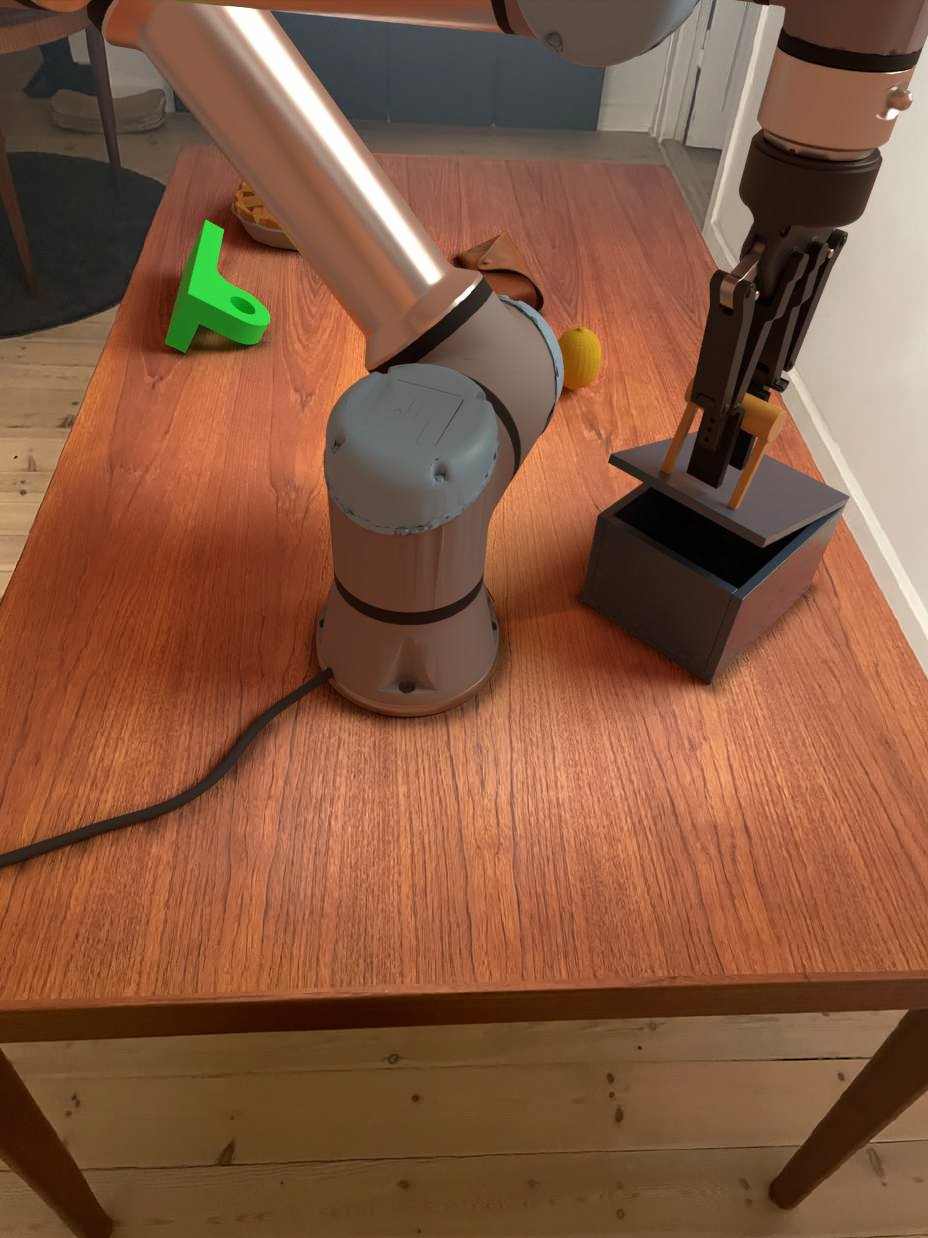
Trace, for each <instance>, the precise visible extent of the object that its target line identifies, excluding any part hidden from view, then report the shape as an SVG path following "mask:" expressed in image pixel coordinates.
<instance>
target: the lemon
mask: <svg viewBox="0 0 928 1238" xmlns="http://www.w3.org/2000/svg"><path fill="white" fill-rule="evenodd" d="M557 341H558V344H559V347H560V350H561V353H562V358H563V366H564V378H563V386H562V387H565V388H567V389H568V390H569V391H571V392H574V391H576V390H579V389H580V390H581V389H583V388H585V387H587V386H589V385H590V384H591V383H592V382H594V380H595V379H596V378H597V376H598V375H599V372H600V368H601V365H602V360H603V359H602V356H603V355H602V345H601V341H600V339H599V338H598V336H597V334H596V333H594V332H593V331H592V330H591V329H589V328H587V327H585V326H584V325H578V326H574V327H571V328H568V329H567V330H566V331H565V332H563V333H562V334H561V335H560V336H559V338H558V339H557Z"/></svg>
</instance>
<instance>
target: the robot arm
mask: <svg viewBox="0 0 928 1238" xmlns="http://www.w3.org/2000/svg"><path fill="white" fill-rule="evenodd" d="M735 1H738V2H746V3H751V4H756V5H761V6H766V7H769V6H776V7H783V8H784V16H783V21H782V26H781V27H780V30H779V34H778V37H777V38H778V39H777V42H776V46H775V50H774V53H773V57H772V60H771V64H770V68H769V71H768V75H767V78H766V82H765V86H764V88H763V89H764V90H763V93H762V96H761V100H760V103H759V108H758V110H757V115H756V121H757V122H758V124H759V126H760V127H761V129H759V130H758V131H757V132H756V133H754V135H753V136H752V137H751V140H750V144H749V148H748V152H747V156H746V159H745V163H744V167H743V170H742V173H741V179H740V183H739V186H738V195H739V198H740V200H741V202H742V203H743V205H744V206H745V207H747V208H748V210H749V211H750V213H751V216H752V218H753V222H752V224H751V226H750V229H749V231H748V233H747V235H746V237H745V239H744V240H743V243H742V246H741V249H740V253H739V258H738V261H739V262H738V264H737V265H736V266H735V267H734V268H733V269H732V271H730V272H728V271H726V270H723V269H720V268H719V269H716V270H715V271H714V272H713V274H712V276H711V277H710V281H709V288H708V289H709V308H708V313H707V316H706V320H705V321H706V322H705V326H704V331H703V336H702V341H701V344H700V345H701V346H700V350H699V354H698V360H697V364H696V369H695V374H694V376H695V378H694V383H693V387H692V392H691V397H690V401H691V402H692V403H694V404H696V405H698V406H700V407H702V408H704V411H703V412H702V416H701V420H700V422H699V426H698V429H697V431H698V433H697V437H696V440H695V444H694V447H693V451H692V454H691V458H690V461H689V465H688V468H687V472H686V473H688V474H689V475H691V476H693V477H695V478H697V479H699V480H700V481H702V482H704V483H706V484H708V485H710V486H711V487H713V488H715V489H717V488H718V487H720V486H721V485H722V483H723V480H724V476H725V473H726V470H727V467H728V464H729V465H730V466H732V467H734V468H736V469H738V470H740V471H741V470H743V469H744V468H745V466H746V464H747V462H748V460H749V457H750V454H751V451H752V448H754V446H755V443H756V439H757V437H756V436H754V435H752V434H750V433H748V432H746V431H744V430H742V429H740V427H741V424H742V420H743V417H744V414H745V411H746V410H745V409H743V408H741V404H742V401H743V399H744V396H745V394H746V392H747V393H749V394H751V395H753V396H755V397H757V398H759V399H761V400H764V401H766V402H768V403H769V400H770V398H771V394H772V392H770V389H772V390H773V391H776V392H778V393H780V394H783V393H784V392H785V391H786V390H787V388H788V386H789V385H790V380H788V379H786V378H784V377H782V375H783V374H782V373H783V372H786V373H789V372H790V371H792V370H793V368H794V366H795V364H796V361H797V359H798V356H799V354H800V351H801V349H802V346H803V343H804V341H805V339H806V336H807V334H808V332H809V329H810V326H811V323H812V321H813V318H814V315H815V313H816V311H817V308H818V306H819V304H820V301H821V297H822V295H823V293H824V291H825V288H826V285H827V282H828V280H829V277H830V275H831V272H832V271H833V267H834V266H835V264H836V263H837V260H838V258H839V256H840V254H841V252H842V250H843V249H844V247H845V246H846V243H847V241H848V237H849V232H848V231H845V230H843V229H840V228H843V227H846V226H849V225H852V224H854V223H855V222H856V221H858V220H860V218H861V217H862V216H863V215H864V212H865V211H866V208H867V205H868V203H869V200H870V198H871V195H872V192H873V188H874V186H875V183H876V180H877V178H878V175H879V172H880V170H881V167H882V163H883V161H884V160H883V156H882V154H881V153H882V152H881V151H880V149H879V148H880V147H882V146H884V145H886V143H888V142H889V141H890V139H891V136H892V133H893V130H894V128H895V125H896V122H897V120H898V117H899V114H900V112H905V111H907V110H908V109H909V108H910V107H911V106H912V103H913V102H914V93H913V92H911V91H910V90H908V89H909V86H910V83H911V81H912V79H913V76H914V74H915V70H916V67H917V65H918V62H919V60H920V57H921V54H922V52H923V49H924V47H925V44H926V41H927V38H928V0H735ZM700 2H701V0H0V8H9V9H20V10H21V9H23V10H36V11H44V12H52V13H54V12H55V13H69V12H70V13H71V12H75V11H78V10H81V11H82V12H83V13H84V15H85V16H86V18H87V19H88V20H89V21H90V22H91V23H92V25H93V26H94V27H95V29H96V30H97V31H98V32H99V34H100V35H101V36H102V37H103V39H104V40H105V41H106V42H107V43H108V44H109V45H111V46H112V47H119V48H124V49H131V50H137V51H139V52H141V53H142V54H144V55H145V56H146V57H147V59H148V60H149V61H150V62H151V64H152V65H153V67H154V68H155V69H156V70H157V72H158V73H159V74H160V76H161V77H162V78H163V79H164V80H165V82H166V83H167V84H168V86H169V87H170V88H171V90H172V91H173V92H174V93H175V95H176V96H177V97H178V98H179V100H180V101H181V102H182V104H183V105H184V106H185V107H186V109H187V111H188V112H189V113H190V114H191V115H192V117H193V118H194V119H195V120H196V122H197V123H198V124H199V126H200V127H201V128H202V129H203V130H204V132H205V133H206V134H207V136H208V137H209V138H210V139H211V141H212V142H213V144H214V145H215V146H216V148H217V149H218V150H219V151H220V152H221V154H222V155H223V156H224V158H225V159H226V160H227V161H228V163H229V164H230V165H231V167H232V168H233V169H234V170H235V172H236V173H237V174H238V176H239V177H240V178H241V180H242V182H243V181H244V182H245V183H246V184H247V186H248V187H249V188H250V189H251V191H252V192H253V193H254V195H255V196H256V197H257V198H258V200H259V201H260V202H261V204H262V205H263V206H264V207H265V209H266V210H267V211H268V213H269V214H270V215H271V216H272V218H273V219H274V220H275V222H276V223H277V224H278V225H279V227H280V228H281V229H282V231H283V232H284V233H285V234H286V236H287V237H288V238H289V240H290V241H291V242H292V243H293V245H294V246H295V247H296V249H297V250H296V251H298V253H299V254H300V255H301V257H302V258H303V259H304V260H305V262H306V263H307V264H308V265H309V267H310V268H311V269H312V271H313V272H314V273H315V275H316V276H317V277H318V278H319V280H320V281H321V282H322V284H324V286H325V287H326V289H327V290H328V291H329V293H330V294H331V295H332V296H333V298H334V299H335V300H336V301H337V302H338V304H339V305H340V307H341V308H342V309H343V310H344V311H345V313H346V315H348V317H349V318H350V319H351V320H352V322H353V323H354V324H355V326H356V327H357V328H358V329H359V331H360V332H361V333H362V335H363V336H364V342H365V349H364V363H363V367H364V369H365V370H366V371H367V373H368V374H367V375H364V376H363V377H361V378H360V379H358V380H357V381H355V382H354V383H353V384H351V385H350V386H349V387H348V388H346V390H345V391H344V392H342V394H341V395H340V396H339V398H338V399H337V400H336V402H335V404H334V405H333V407H332V409H331V411H330V413H329V415H328V419H327V423H326V427H325V447H324V449H323V450H324V451H323V455H322V456H323V461H322V463H323V465H322V466H323V477H324V481H325V485H326V493H327V505H328V506H327V507H328V518H329V519H328V520H329V531H330V542H331V554H332V568H333V579H332V581H331V584H330V587H329V589H328V593H327V595H326V598H325V603H324V604H323V606H322V608H321V611H320V613H319V615H318V616H319V617H318V621H317V623H316V624H317V625H316V632H315V635H316V636H315V644H316V645H315V646H316V656H317V660H318V664H319V667H320V670H321V672H319V673H318V674H316V675H314V676H313V677H312V678H311V679H309V680H308V681H306V682H305V683H303V684H302V685H300V686H299V687H297V688H296V689H294V690H293V691H291V692H290V693H288V694H287V695H286V696H284V697H282V698H281V699H279V700H278V701H276V702H275V703H274V704H273V705H271V706H270V707H268V709H266V710H264V712H263V713H262V714H261V715H260V716H258V717H257V718H256V720H254V722H252V723H251V725H249V727H248V728H247V729H246V730H245V731H244V733H243V734H242V735H241V736H240V738H239V739H238V740H237V742H236V743H235V744H234V746H233V747H232V748H231V750H230V751H229V752H228V754H227V755H226V756H225V757H223V759H222V760H221V762H220V763H219V764H218V765H217V766H216V768H214V769H213V770H212V771H211V772H210V773H209V774H208V775H206V776H205V777H204V778H203V779H201V780H200V781H198V783H195V784H194V785H193V786H192V787H190V788H188V789H185V791H183V792H181V793H180V794H179V793H178V794H177V795H176V796H173V797H171V798H169V799H167V800H165V801H162V802H159V803H157V804H154V805H151V806H149V807H145V808H142V809H139V810H136V811H132V812H128V813H125V814H121V815H117V816H114V817H111V818H106V819H103V820H100V821H97V822H94V823H91V824H88V825H84V826H82V827H79V828H76V829H72V830H70V831H67V832H64V833H61V834H59V835H56V836H53V837H49V838H47V839H44V840H41V841H38V842H35V843H32V844H29V845H25V846H22V847H20V848H16V849H13V850H11V851H8V852H7V851H6V852H4V853H0V868H3V867H6V866H9V865H12V864H15V863H18V862H21V861H24V860H27V859H30V858H33V857H36V856H39V855H42V854H45V853H48V852H50V851H54V850H57V849H59V848H62V847H66V846H69V845H72V844H75V843H77V842H80V841H83V840H85V839H88V838H91V837H94V836H97V835H101V834H104V833H107V832H110V831H114V830H117V829H120V828H124V827H128V826H131V825H135V824H138V823H142V822H146V821H148V820H151V819H154V818H157V817H160V816H162V815H166V814H167V813H170V812H172V811H175V810H176V809H178V808H181V807H182V806H185V805H186V804H188V803H190V802H191V801H193V800H195V799H197V798H198V797H200V796H202V794H204V793H205V792H207V791H208V790H209V789H211V788H212V787H213V786H214V785H216V784H217V783H218V782H219V781H220V780H221V779H223V777H224V776H225V775H226V774H227V773H228V772H229V771H230V769H232V768H233V766H235V763H236V762H237V761H238V760H239V759H240V756H242V754H243V753H244V752H245V750H247V748H248V746H249V745H250V744H251V742H252V741H253V740H254V738H256V737H257V735H258V734H259V733H260V732H261V731H262V730H263V729H264V728H265V727H266V725H268V724H269V723H270V722H271V721H272V720H273V719H274V718H276V717H277V716H278V715H279V714H281V713H282V712H283V711H284V710H286V709H288V708H289V707H290V706H292V705H293V704H295V703H296V702H298V701H299V700H301V699H302V698H304V697H306V696H307V695H308V694H310V693H311V692H312V691H314V690H316V689H317V688H318V687H320V686H322V685H323V684H325V683H326V682H328V683H329V684H330V686H331V687H332V688H333V689H334V690H335V691H336V692H337V693H338V694H339V695H341V696H342V697H343V698H345V699H346V700H347V701H349V702H350V703H352V704H353V705H356V706H358V707H360V708H362V709H365V710H368V711H371V712H373V713H378V714H381V715H385V716H393V717H405V718H406V717H422V716H429V715H435V714H438V713H442V712H446V711H448V710H451V709H453V708H457V707H458V706H460V705H462V704H464V703H465V702H467V701H469V700H470V699H471V698H473V697H474V696H476V695H477V694H478V693H479V692H480V691H481V690H482V689H483V688H484V687H485V686H486V684H487V683H488V682H489V680H490V679H491V677H492V676H493V673H494V672H495V669H496V667H497V664H498V660H499V652H500V644H501V643H500V642H501V637H500V626H499V621H498V618H497V614H496V613H495V612H496V611H495V609H494V607H493V604H494V606H495V607H496V609H497V604H496V602H495V599H494V597H493V596H492V593H491V592H490V590H489V589H488V586H487V585H486V583H485V580H484V576H485V575H484V574H485V566H486V557H487V556H486V555H487V545H488V537H489V528H490V523H491V519H492V517H493V515H494V512H495V510H496V508H497V506H498V505H499V503H500V501H501V499H502V498H503V496H504V495H505V493H506V491H507V489H508V488H509V486H510V484H511V483H512V481H513V480H514V478H515V477H516V475H517V473H518V472H519V470H520V468H521V467H522V465H523V464H524V462H525V460H526V459H527V457H528V455H530V453H531V451H532V450H533V447H534V446H535V445H536V444H537V443H536V442H537V441H538V440H539V438H540V437H541V436H542V435H543V434H544V433H546V430H547V428H548V427H549V425H550V424H551V421H552V419H553V417H554V414H555V411H556V406H557V404H558V402H559V399H560V397H561V393H562V390H563V387H564V386H563V378H564V366H563V358H562V353H561V350H560V347H559V344H558V338H557V337H556V335H555V333H554V331H553V329H552V328H551V326H550V325H549V323H548V322H547V320H545V318H543V316H542V315H541V313H539V312H537V311H535V310H534V309H533V308H532V307H530V306H529V305H527V304H526V303H524V302H522V301H513V300H511V299H510V298H509V297H508V296H505V295H496V293H495V292H494V291H493V289H492V288H491V287H490V285H489V284H488V282H487V281H486V280H485V278H484V277H483V275H482V274H481V273H480V272H479V271H474V270H468V269H464V268H461V267H456V266H454V265H453V264H452V263H450V262H449V261H448V259H447V258H446V257H445V255H444V254H443V252H442V251H441V249H440V248H439V247H438V245H437V244H436V242H435V241H434V240H433V239H432V237H431V235H430V234H429V232H427V230H426V228H425V227H424V226H423V224H422V223H421V221H420V220H419V219H418V217H417V216H416V214H415V213H414V212H413V210H412V209H411V208H410V206H409V204H408V203H407V201H406V200H405V199H404V198H403V196H402V195H401V193H400V192H399V191H398V189H397V187H395V185H394V184H393V182H392V181H391V179H390V178H389V176H388V174H386V172H385V171H384V169H383V168H382V167H381V164H379V162H378V161H377V160H376V158H375V157H374V155H373V154H372V152H371V151H370V150H369V148H368V147H367V146H366V144H365V142H364V141H363V140H362V138H361V137H360V136H359V134H358V132H357V131H356V130H355V128H354V127H353V126H352V124H351V123H350V122H349V121H348V118H346V116H345V115H344V114H343V112H342V111H341V110H342V109H341V108H339V106H338V105H337V103H336V102H335V100H334V99H333V97H332V96H331V95H330V93H329V92H328V91H327V89H326V88H325V87H324V85H323V83H322V81H320V79H319V78H318V77H317V75H316V74H315V73H314V71H313V70H312V68H311V67H310V66H309V64H308V63H307V61H306V59H305V58H304V57H303V56H302V54H301V53H300V51H299V50H298V48H297V47H296V46H295V44H294V43H293V41H292V40H291V38H290V37H289V36H288V35H287V33H286V32H285V30H284V29H283V27H282V26H281V25H280V23H279V22H278V21H277V18H275V16H274V15H273V13H272V12H279V13H280V12H281V13H289V14H290V13H292V14H299V15H300V14H301V15H312V16H322V17H331V18H341V19H351V20H352V19H353V20H362V21H363V20H364V21H373V22H383V23H393V24H404V25H414V26H423V27H434V28H443V29H444V28H445V29H453V30H464V31H465V30H466V31H474V32H485V33H486V32H487V33H494V34H504V35H505V34H506V35H512V36H513V35H514V36H521V37H527V38H531V39H532V38H533V39H537V40H538V41H539V42H541V43H542V44H543V45H544V46H545V47H546V48H547V49H549V50H550V51H551V52H552V53H553V54H555V55H557V56H558V57H559V58H562V59H563V60H565V61H568V62H570V63H572V64H574V65H577V66H582V67H589V68H607V67H611V66H616V65H621V64H623V63H625V62H628V61H630V60H632V59H634V58H637V57H639V56H642V55H644V54H647V53H649V52H650V51H652V50H654V49H655V48H657V47H659V46H660V45H661V44H662V43H663V42H664V41H666V40H667V39H668V38H669V37H670V36H672V35H673V34H675V33H676V32H677V31H678V30H679V28H681V27H682V26H683V25H684V23H685V22H686V21H687V20H688V19H689V18H690V17H691V15H693V13H694V10H695V9H696V6H697V5H698V4H699V3H700ZM492 603H493V604H492Z"/></svg>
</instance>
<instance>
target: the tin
mask: <svg viewBox="0 0 928 1238" xmlns="http://www.w3.org/2000/svg"><path fill="white" fill-rule="evenodd" d="M846 505H847V504H846ZM846 505H844V506H842V507H840V508H838V509H836V510H834V511H832V512H830V513H829V514H827V515H825V516H823V517H821V518H819V519H817V520H815V521H813V522H811V523H809V524H807V525H805V526H803V527H802V528H800V529H798V530H796V531H794V532H792V533H790V534H788V535H786V536H784V537H782V538H780V539H778V540H776V541H775V542H773V543H771V544H769V545H767V546H765V547H763V548H760V547H759V546H757V545H755V544H753V543H751V542H750V541H748V540H746V539H744V538H742V537H741V536H739V535H737V534H735V533H733V532H732V531H730V530H728V529H726V528H724V527H723V526H721V525H719V524H717V523H715V522H714V521H712V520H710V519H708V518H706V517H705V516H703V515H701V514H699V513H697V512H696V511H694V510H692V509H690V508H689V507H687V506H685V505H683V504H681V503H680V502H678V501H676V500H674V499H672V498H671V497H669V496H667V495H665V494H663V493H662V492H660V491H658V490H656V489H654V488H653V487H651V486H649V485H647V484H645V483H644V482H642V483H641V484H639V485H637V486H636V487H635V488H633V489H632V490H631V491H629V492H628V493H627V494H625V495H623V496H622V497H621V498H619V499H618V500H616V501H615V502H614V503H612V504H611V505H609V506H608V507H607V508H605V509H603V511H601V512H600V513H598V514H597V517H596V523H595V527H594V532H593V537H592V542H591V546H590V552H589V556H588V562H587V567H586V572H585V577H584V582H583V586H582V591H581V595H580V601H581V602H583V603H584V604H586V605H588V606H589V607H591V608H592V609H594V610H595V611H597V612H598V613H600V614H601V615H603V616H604V617H606V618H607V619H609V620H610V621H612V622H613V623H615V624H616V625H618V626H619V627H621V628H623V629H624V630H625V631H627V632H628V633H631V634H632V635H633V636H634V637H636V638H637V639H639V640H641V641H642V642H644V643H646V644H647V645H648V646H650V647H652V648H653V649H655V650H656V651H658V652H659V653H661V654H662V655H664V656H665V657H667V658H668V659H670V660H671V661H673V662H675V663H676V664H677V665H679V666H680V667H682V668H684V669H685V670H687V671H688V672H690V673H691V674H692V675H694V676H696V677H697V678H699V679H700V680H701V681H703V682H705V683H706V684H708V685H712V684H713V682H715V681H716V680H717V679H718V678H719V677H720V676H721V675H722V674H723V673H724V672H725V671H726V670H727V669H728V668H729V667H730V666H731V665H732V664H733V663H734V662H735V661H736V660H737V659H738V658H739V657H741V655H743V653H744V652H746V651H747V649H749V648H750V646H752V645H753V644H754V642H756V640H757V639H759V638H760V637H761V636H762V635H763V634H764V633H765V632H766V631H767V630H768V629H769V628H770V627H771V626H773V624H775V622H776V621H777V620H778V619H779V618H780V617H781V616H782V615H783V614H784V613H785V612H786V611H788V610H789V608H791V606H792V605H794V603H795V602H796V601H798V599H800V597H801V596H802V595H804V593H806V592H807V591H808V590H809V589H810V587H811V584H812V582H813V579H814V577H815V575H816V573H817V570H818V568H819V565H820V564H821V562H822V560H823V557H824V555H825V552H826V551H827V548H828V546H829V543H830V542H831V539H832V537H833V535H834V533H835V531H836V528H837V526H838V524H839V521H840V519H841V517H842V515H843V512H844V510H845V508H846Z"/></svg>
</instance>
